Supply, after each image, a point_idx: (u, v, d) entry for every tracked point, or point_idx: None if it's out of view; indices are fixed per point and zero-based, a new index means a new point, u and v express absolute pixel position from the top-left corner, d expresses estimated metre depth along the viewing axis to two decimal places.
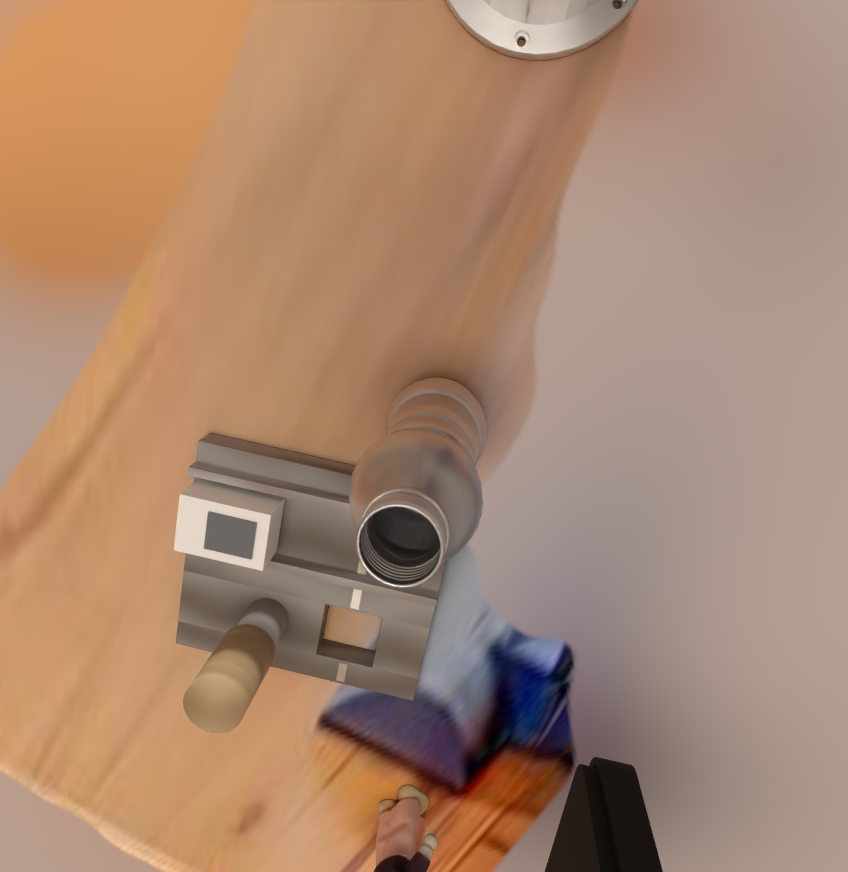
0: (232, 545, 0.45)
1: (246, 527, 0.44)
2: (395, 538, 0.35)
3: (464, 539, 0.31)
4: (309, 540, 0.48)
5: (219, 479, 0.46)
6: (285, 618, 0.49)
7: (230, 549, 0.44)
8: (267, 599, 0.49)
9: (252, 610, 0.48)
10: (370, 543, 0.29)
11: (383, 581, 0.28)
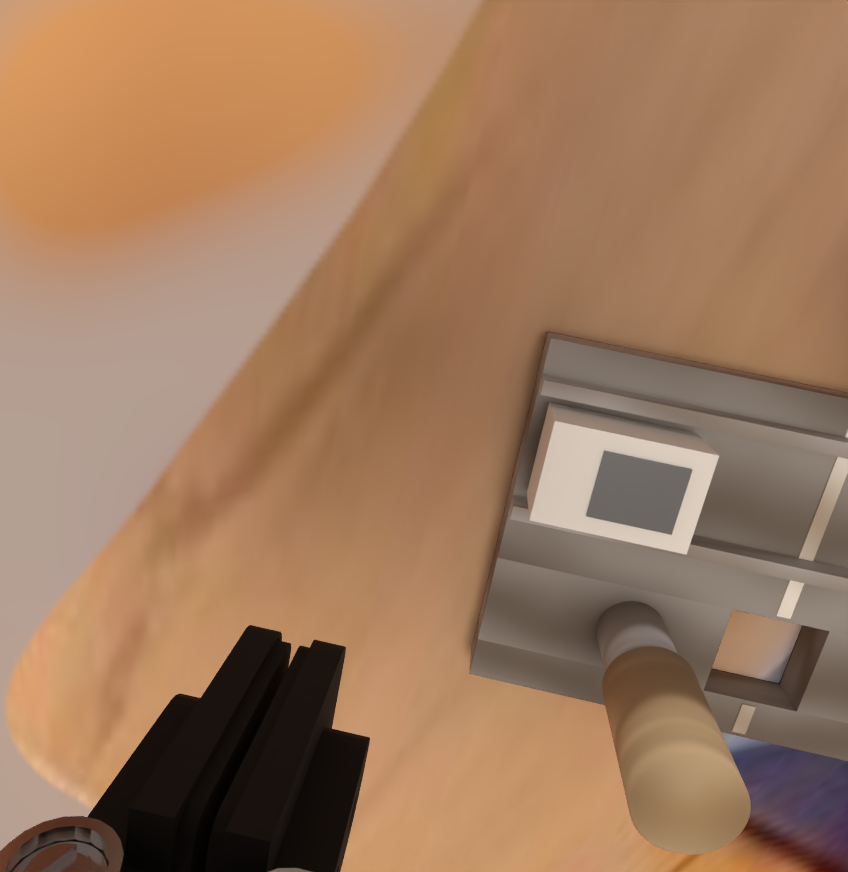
0: (637, 510, 0.26)
1: (672, 478, 0.25)
2: None
3: None
4: (723, 505, 0.29)
5: (596, 400, 0.27)
6: None
7: (636, 517, 0.26)
8: (636, 603, 0.30)
9: (629, 622, 0.29)
10: None
11: None
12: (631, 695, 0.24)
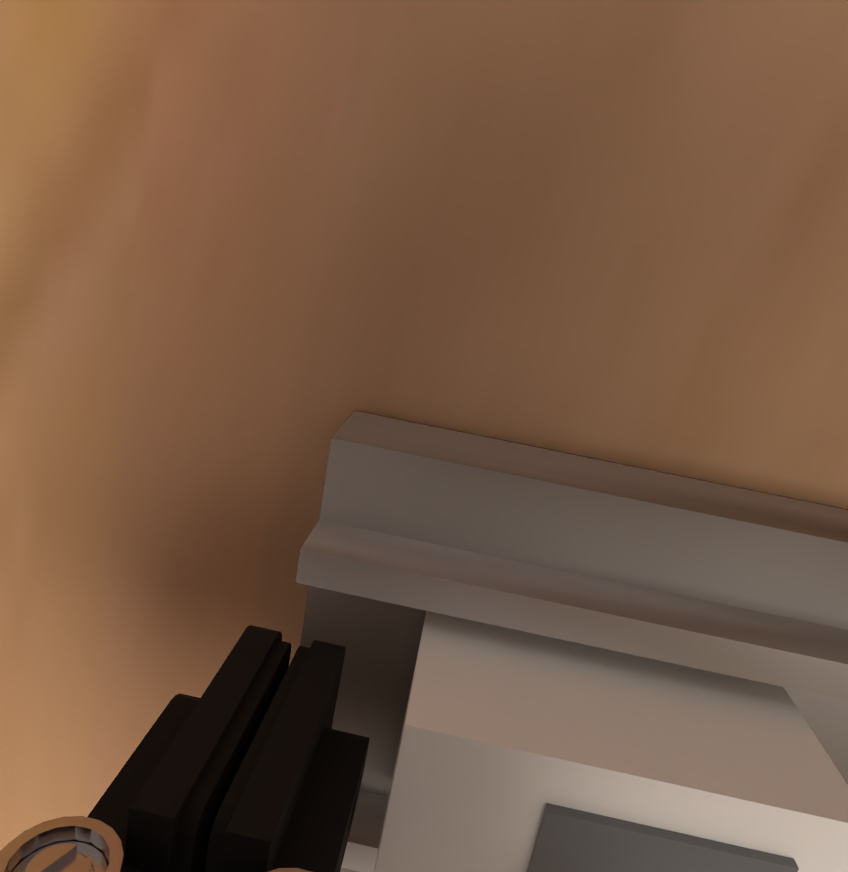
0: None
1: None
2: None
3: None
4: None
5: (431, 598, 0.11)
6: None
7: None
8: None
9: None
10: None
11: None
12: None
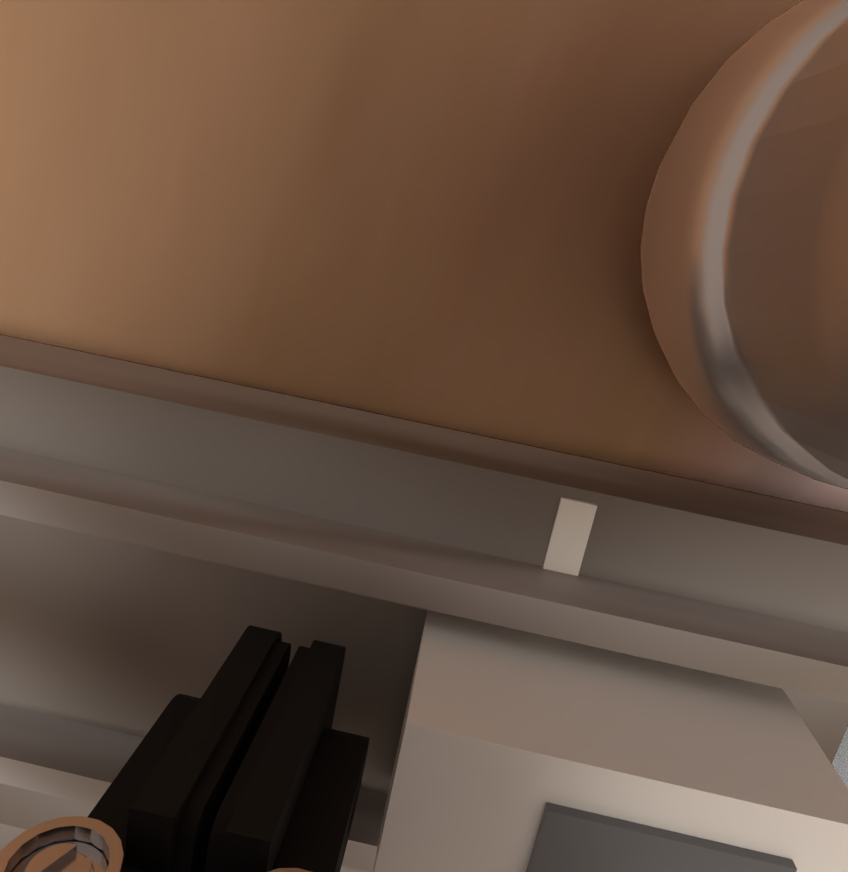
0: None
1: None
2: None
3: None
4: None
5: None
6: None
7: None
8: None
9: None
10: None
11: None
12: None
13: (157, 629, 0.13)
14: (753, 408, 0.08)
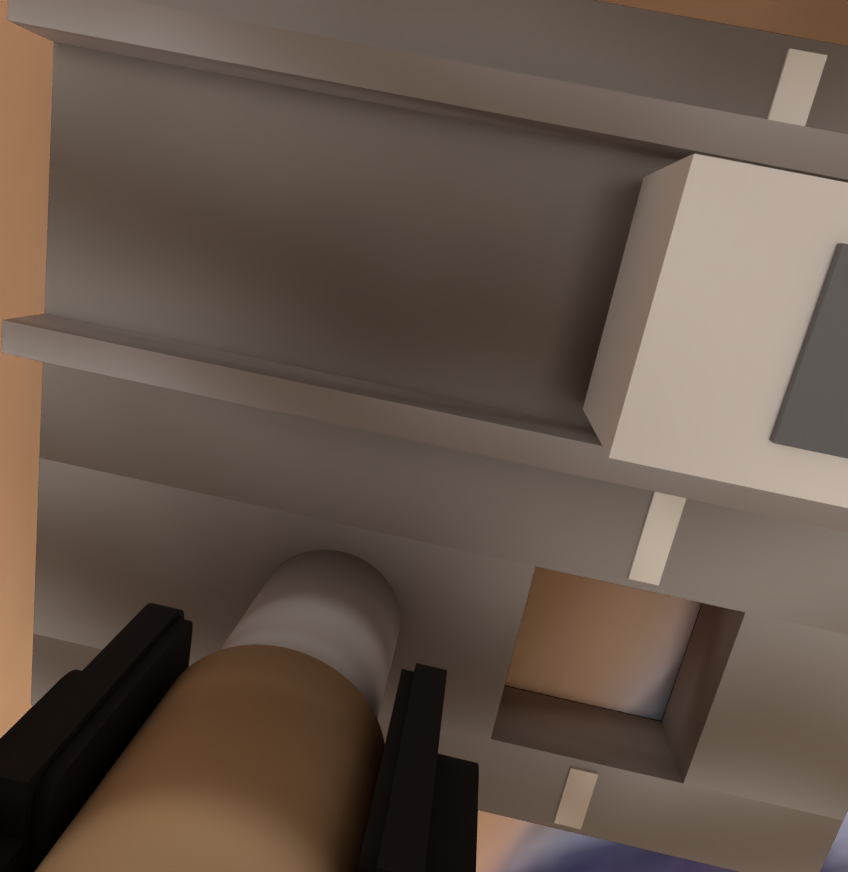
0: None
1: None
2: None
3: None
4: (495, 323, 0.13)
5: (139, 30, 0.11)
6: (394, 621, 0.14)
7: None
8: (330, 553, 0.14)
9: (281, 591, 0.13)
10: None
11: None
12: (97, 791, 0.08)
13: (343, 239, 0.12)
14: None
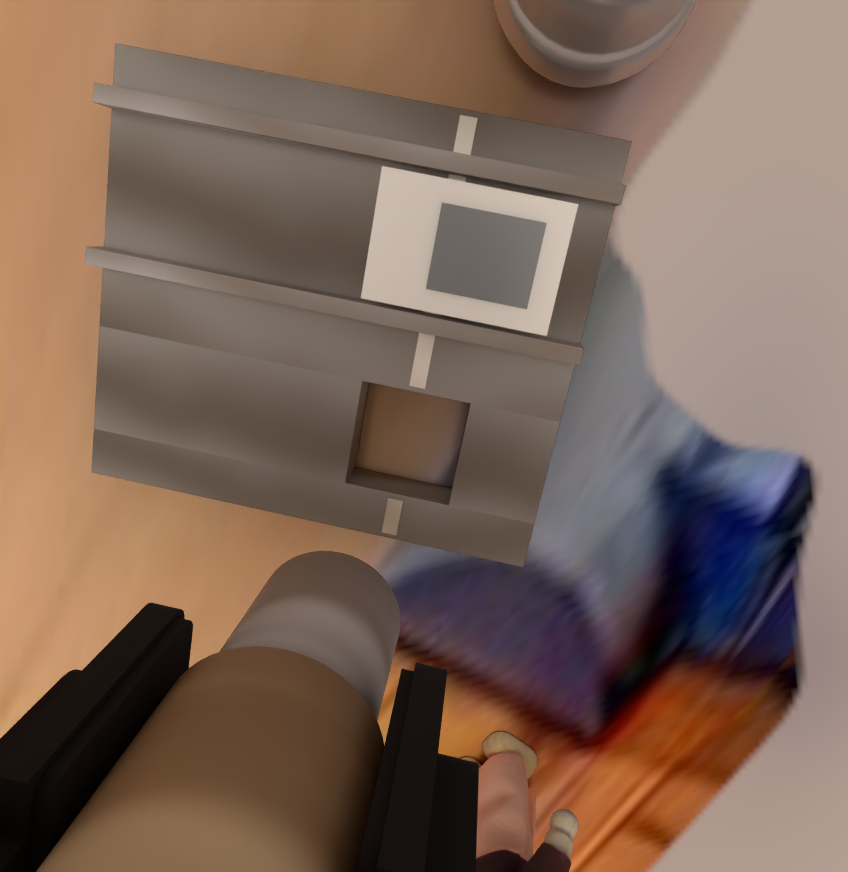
0: (486, 280, 0.21)
1: (523, 234, 0.21)
2: None
3: None
4: (333, 249, 0.25)
5: (154, 106, 0.23)
6: (394, 622, 0.14)
7: (484, 287, 0.21)
8: (329, 555, 0.14)
9: (281, 592, 0.13)
10: None
11: None
12: (97, 793, 0.08)
13: (256, 207, 0.25)
14: (522, 17, 0.20)
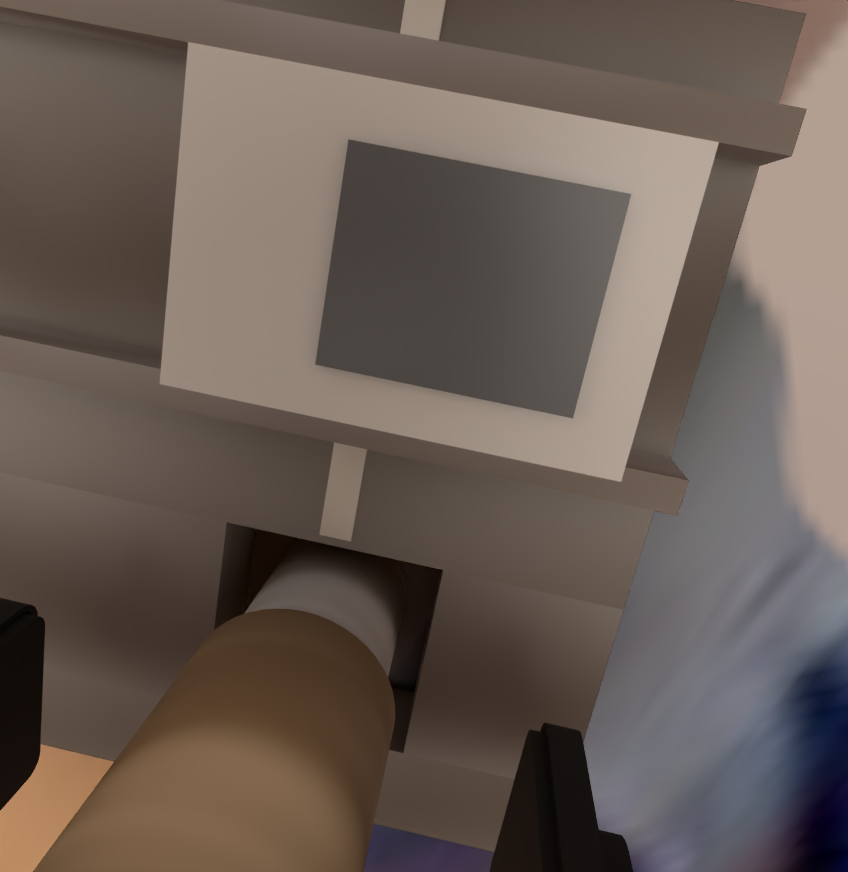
0: (468, 343, 0.08)
1: (567, 224, 0.08)
2: None
3: None
4: (153, 260, 0.12)
5: None
6: (401, 595, 0.15)
7: (464, 362, 0.08)
8: None
9: (297, 565, 0.14)
10: None
11: None
12: (140, 731, 0.09)
13: None
14: None
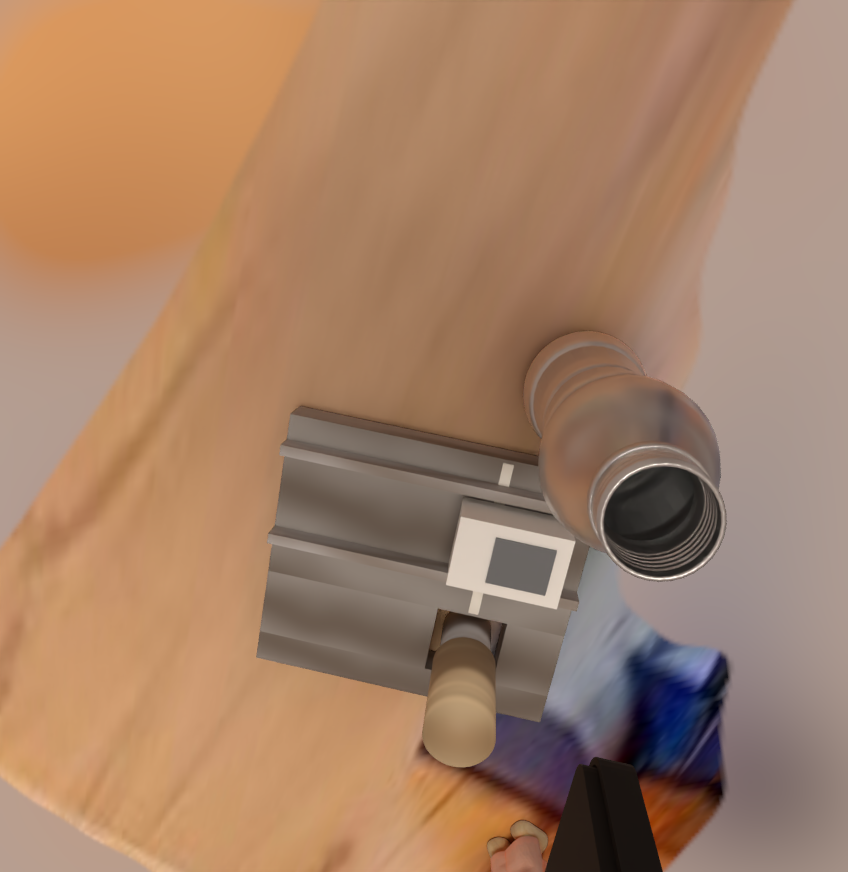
0: (521, 578, 0.36)
1: (543, 556, 0.36)
2: None
3: None
4: (422, 532, 0.40)
5: (317, 459, 0.38)
6: (490, 630, 0.43)
7: (520, 583, 0.36)
8: None
9: (458, 621, 0.41)
10: None
11: (634, 572, 0.20)
12: (439, 668, 0.37)
13: (374, 507, 0.40)
14: None
